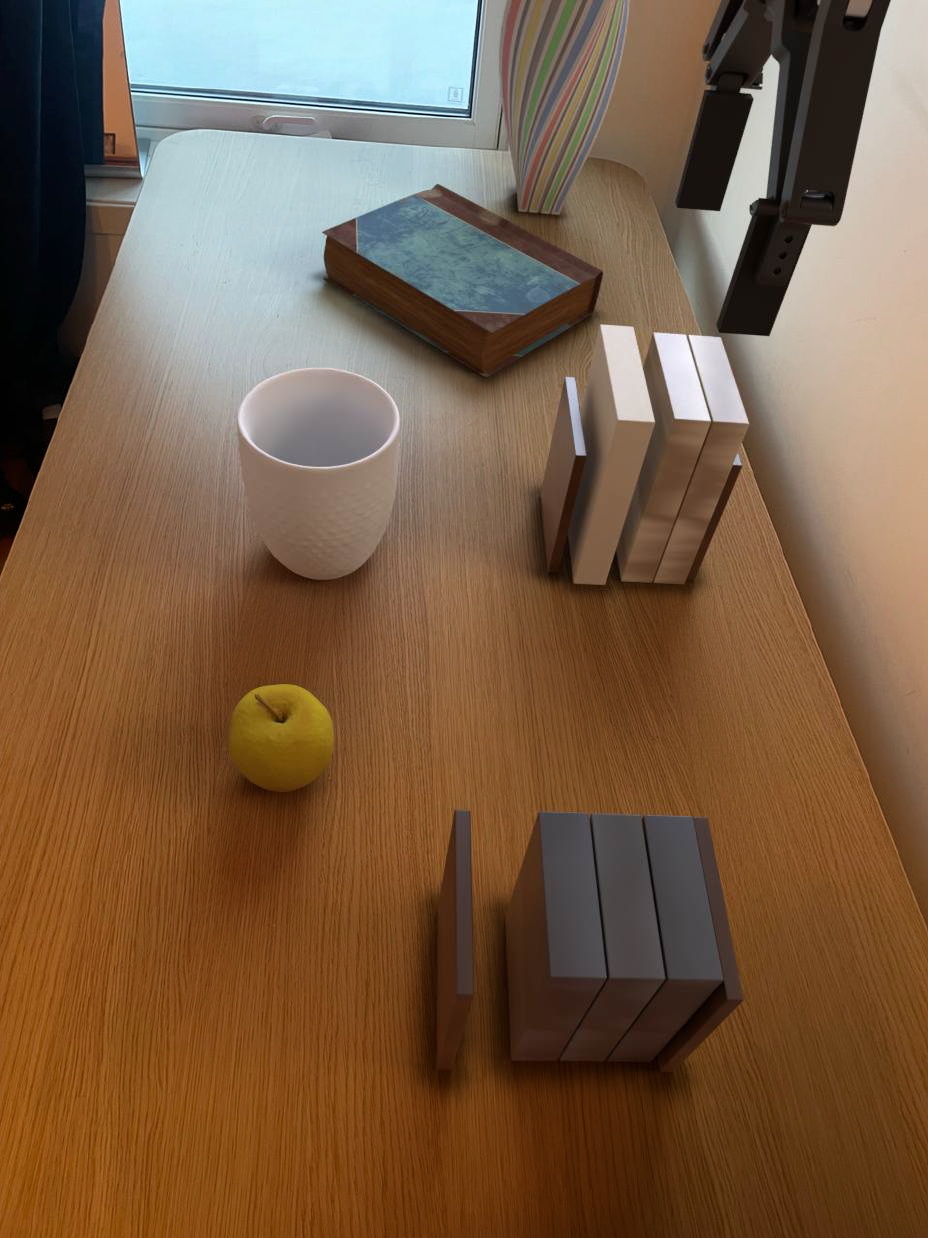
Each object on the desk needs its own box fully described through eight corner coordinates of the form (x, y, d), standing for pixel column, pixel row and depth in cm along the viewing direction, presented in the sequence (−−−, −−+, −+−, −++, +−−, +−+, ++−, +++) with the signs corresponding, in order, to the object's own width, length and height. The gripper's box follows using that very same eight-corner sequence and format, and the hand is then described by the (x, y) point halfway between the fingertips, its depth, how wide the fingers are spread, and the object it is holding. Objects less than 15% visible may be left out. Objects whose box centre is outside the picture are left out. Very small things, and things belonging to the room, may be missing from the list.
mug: (328, 457, 80) (325, 322, 70) (442, 506, 77) (456, 373, 67) (221, 566, 71) (200, 429, 61) (346, 625, 68) (345, 492, 58)
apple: (224, 744, 61) (210, 671, 55) (320, 719, 63) (316, 646, 57) (246, 829, 57) (233, 761, 51) (347, 800, 59) (346, 731, 53)
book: (594, 313, 98) (604, 269, 94) (484, 379, 89) (490, 333, 85) (436, 225, 107) (439, 181, 103) (320, 277, 98) (319, 232, 94)
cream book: (590, 489, 80) (633, 326, 68) (605, 585, 73) (655, 422, 61) (562, 488, 80) (599, 323, 68) (573, 583, 73) (617, 419, 61)
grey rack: (650, 911, 56) (714, 807, 47) (673, 1072, 51) (752, 992, 41) (437, 906, 55) (456, 798, 45) (436, 1070, 50) (458, 987, 40)
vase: (482, 226, 108) (518, -93, 85) (480, 171, 116) (512, -131, 93) (598, 236, 109) (665, -76, 86) (588, 181, 117) (645, -116, 94)
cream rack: (675, 498, 81) (734, 337, 68) (695, 585, 74) (763, 424, 62) (539, 490, 80) (574, 325, 67) (548, 577, 73) (587, 412, 61)
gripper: (721, -287, 45) (626, 160, 61) (875, -177, 29) (691, 391, 45) (871, -269, 46) (738, 170, 62) (1104, -151, 30) (841, 401, 46)
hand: (718, 264), depth 54 cm, fingers open, 13 cm apart
